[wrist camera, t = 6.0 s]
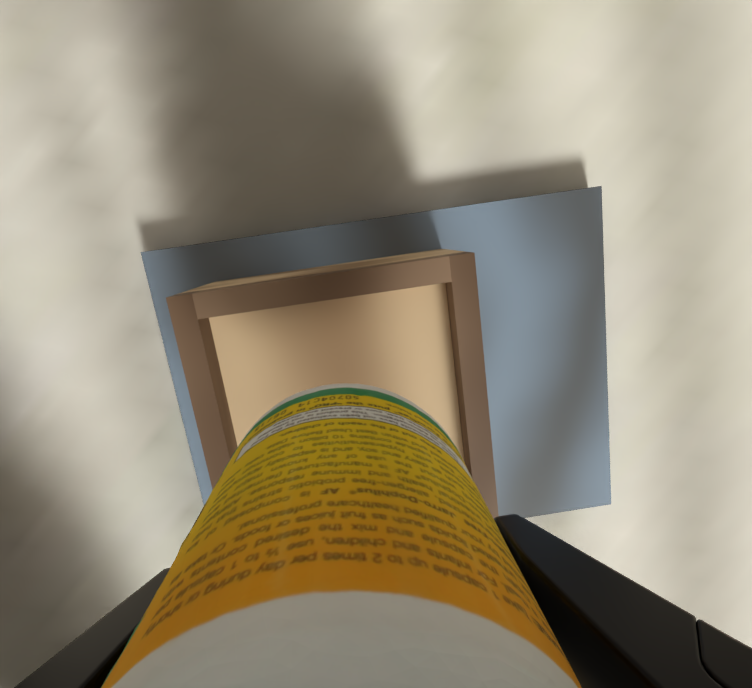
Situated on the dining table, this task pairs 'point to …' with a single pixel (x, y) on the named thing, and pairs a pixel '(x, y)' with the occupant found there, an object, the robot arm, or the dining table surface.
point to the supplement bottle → (344, 565)
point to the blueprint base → (513, 327)
